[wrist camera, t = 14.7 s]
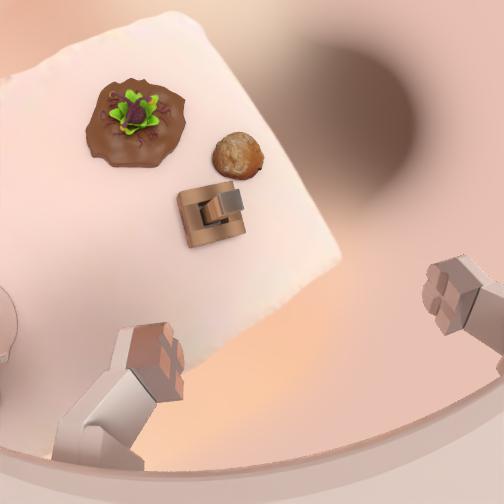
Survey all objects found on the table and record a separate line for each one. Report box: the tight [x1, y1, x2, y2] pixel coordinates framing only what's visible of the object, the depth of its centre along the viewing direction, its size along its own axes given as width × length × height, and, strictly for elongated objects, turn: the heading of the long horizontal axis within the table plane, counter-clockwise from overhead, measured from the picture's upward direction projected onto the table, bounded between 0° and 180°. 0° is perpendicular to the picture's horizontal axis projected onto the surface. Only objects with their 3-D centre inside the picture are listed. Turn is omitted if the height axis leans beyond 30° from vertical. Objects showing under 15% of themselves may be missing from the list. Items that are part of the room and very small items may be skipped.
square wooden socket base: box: [177, 181, 246, 248], centre depth 56 cm, size 10×10×5 cm
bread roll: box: [213, 132, 264, 180], centre depth 59 cm, size 10×10×8 cm
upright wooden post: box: [199, 189, 244, 226], centre depth 51 cm, size 3×3×16 cm
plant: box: [86, 78, 186, 168], centre depth 49 cm, size 20×20×11 cm
